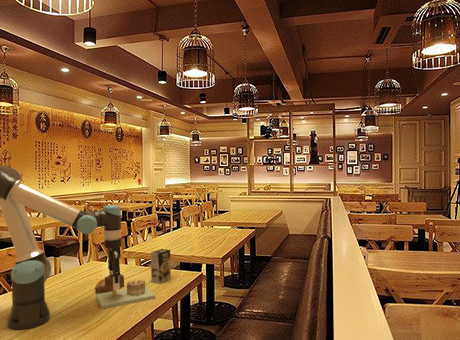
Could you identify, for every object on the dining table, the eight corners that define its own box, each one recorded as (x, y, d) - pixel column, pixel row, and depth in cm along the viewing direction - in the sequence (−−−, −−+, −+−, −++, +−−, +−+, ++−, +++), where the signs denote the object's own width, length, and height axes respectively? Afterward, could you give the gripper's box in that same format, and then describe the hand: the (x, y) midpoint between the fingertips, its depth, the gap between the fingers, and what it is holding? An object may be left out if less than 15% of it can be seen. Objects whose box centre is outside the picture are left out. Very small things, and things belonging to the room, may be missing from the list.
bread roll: (106, 302, 183) (112, 287, 182) (89, 292, 184) (95, 278, 184) (116, 295, 192) (122, 281, 192) (100, 285, 194) (105, 272, 193)
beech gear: (134, 297, 174) (134, 286, 174) (123, 293, 180) (123, 283, 179) (148, 292, 181) (148, 281, 181) (138, 288, 186) (137, 278, 186)
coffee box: (160, 283, 198) (159, 253, 198) (151, 281, 201) (150, 251, 201) (171, 279, 206) (170, 249, 205) (162, 277, 209) (161, 248, 209)
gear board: (101, 308, 165) (101, 291, 165) (96, 297, 179) (95, 281, 179) (155, 298, 176) (154, 282, 176) (145, 288, 190) (145, 273, 190)
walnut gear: (107, 291, 170) (106, 280, 170) (104, 286, 177) (103, 276, 177) (125, 288, 174) (125, 277, 173) (121, 283, 181) (121, 273, 181)
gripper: (126, 241, 167) (127, 292, 168) (116, 234, 186) (118, 279, 186) (108, 243, 164) (110, 295, 164) (100, 235, 182) (102, 282, 183)
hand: (114, 286), depth 175 cm, fingers closed on walnut gear, 8 cm apart
